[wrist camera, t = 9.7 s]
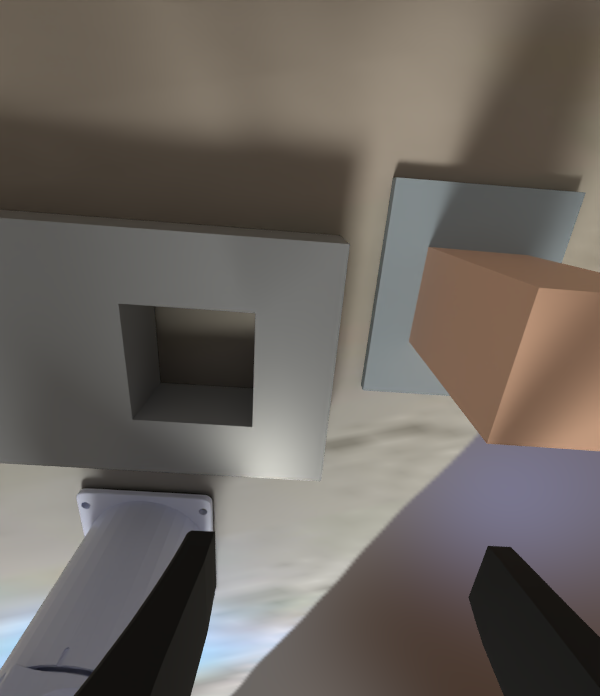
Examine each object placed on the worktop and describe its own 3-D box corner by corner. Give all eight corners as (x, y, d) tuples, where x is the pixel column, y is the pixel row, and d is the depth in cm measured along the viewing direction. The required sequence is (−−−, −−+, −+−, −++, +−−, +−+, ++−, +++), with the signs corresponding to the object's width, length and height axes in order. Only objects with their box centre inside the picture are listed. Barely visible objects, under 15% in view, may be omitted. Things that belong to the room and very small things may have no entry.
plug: (498, 348, 18) (640, 453, 10) (408, 341, 18) (486, 443, 10) (527, 255, 16) (721, 302, 9) (428, 246, 16) (538, 287, 9)
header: (317, 436, 21) (321, 481, 17) (31, 419, 20) (-21, 461, 17) (339, 235, 16) (349, 244, 13) (-22, 207, 16) (-104, 210, 13)
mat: (508, 394, 20) (514, 399, 19) (361, 384, 19) (363, 390, 19) (575, 193, 16) (585, 192, 15) (392, 178, 15) (396, 177, 15)
